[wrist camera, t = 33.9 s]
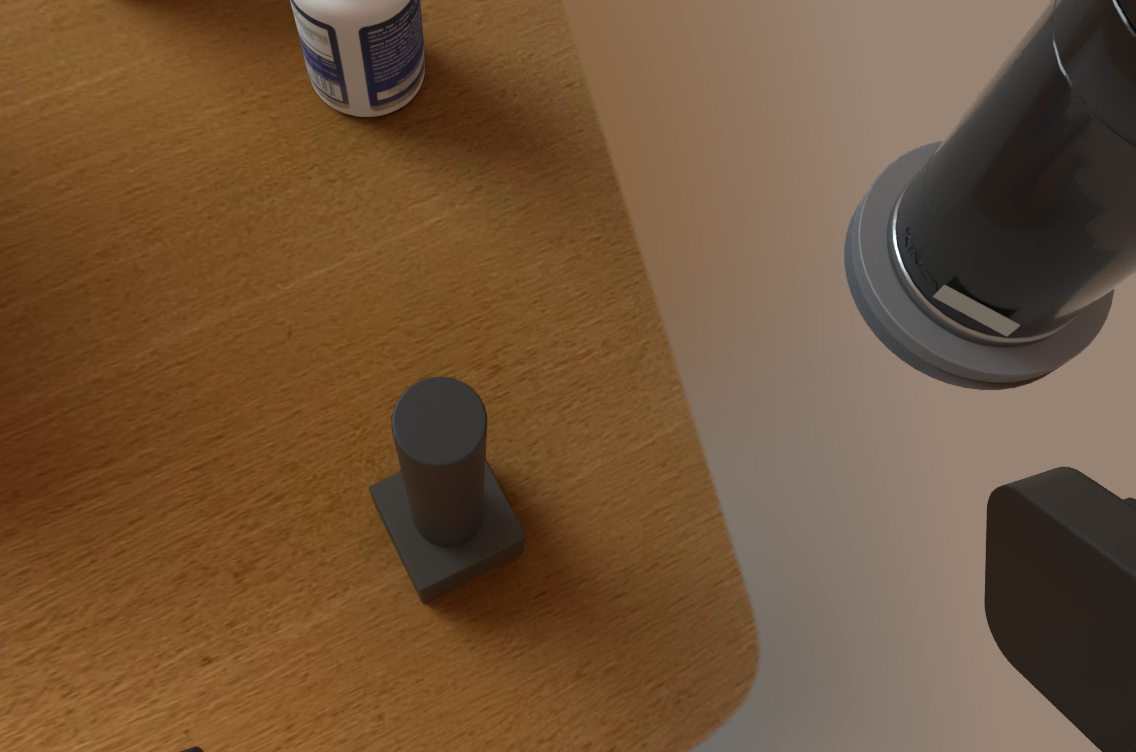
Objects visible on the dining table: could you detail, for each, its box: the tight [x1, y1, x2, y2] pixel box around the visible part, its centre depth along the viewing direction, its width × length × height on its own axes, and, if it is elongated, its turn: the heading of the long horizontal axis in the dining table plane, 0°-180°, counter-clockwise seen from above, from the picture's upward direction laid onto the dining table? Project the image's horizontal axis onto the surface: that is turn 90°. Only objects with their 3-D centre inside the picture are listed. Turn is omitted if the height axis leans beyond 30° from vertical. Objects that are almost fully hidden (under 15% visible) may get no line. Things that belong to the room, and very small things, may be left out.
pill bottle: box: [290, 0, 425, 117], centre depth 44 cm, size 5×5×10 cm
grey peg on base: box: [369, 377, 526, 603], centre depth 35 cm, size 4×4×14 cm
